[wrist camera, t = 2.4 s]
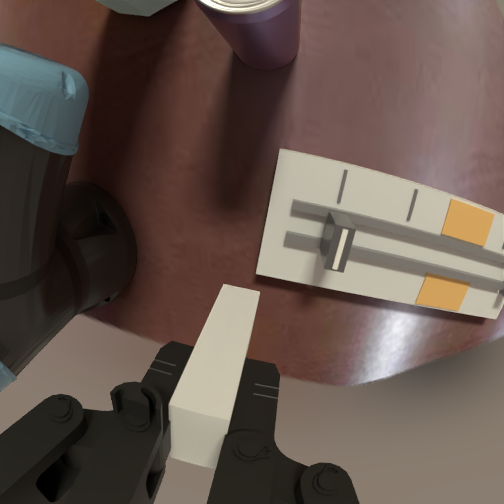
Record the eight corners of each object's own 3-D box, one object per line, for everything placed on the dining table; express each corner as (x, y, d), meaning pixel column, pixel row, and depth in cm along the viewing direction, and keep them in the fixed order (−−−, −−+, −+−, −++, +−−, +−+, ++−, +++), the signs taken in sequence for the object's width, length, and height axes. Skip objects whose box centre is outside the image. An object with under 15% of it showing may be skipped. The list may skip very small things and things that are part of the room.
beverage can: (284, 81, 26) (275, 31, 12) (225, 59, 26) (166, 3, 12) (308, 29, 24) (319, -52, 10) (249, 9, 24) (213, -75, 10)
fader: (318, 245, 29) (323, 269, 24) (328, 207, 28) (335, 225, 23) (335, 248, 29) (343, 273, 24) (345, 211, 28) (356, 229, 22)
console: (258, 265, 33) (253, 283, 29) (280, 148, 28) (278, 150, 25) (489, 311, 31) (503, 327, 27) (523, 222, 27) (542, 233, 23)
